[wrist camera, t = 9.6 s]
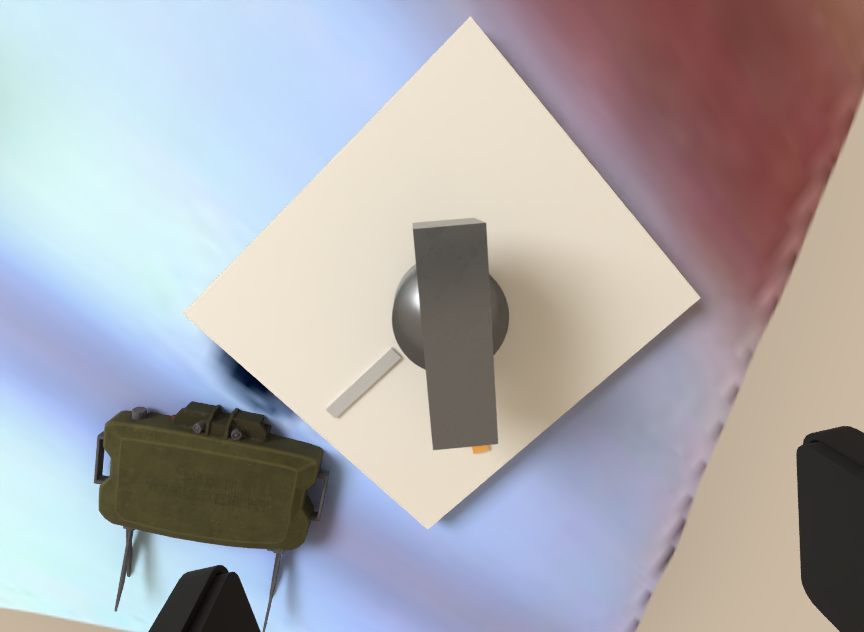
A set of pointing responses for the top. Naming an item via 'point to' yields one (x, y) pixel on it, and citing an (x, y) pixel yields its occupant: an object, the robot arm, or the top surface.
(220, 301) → the dial plate
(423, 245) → the knob
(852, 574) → the robot arm
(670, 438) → the top surface
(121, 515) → the landmine
